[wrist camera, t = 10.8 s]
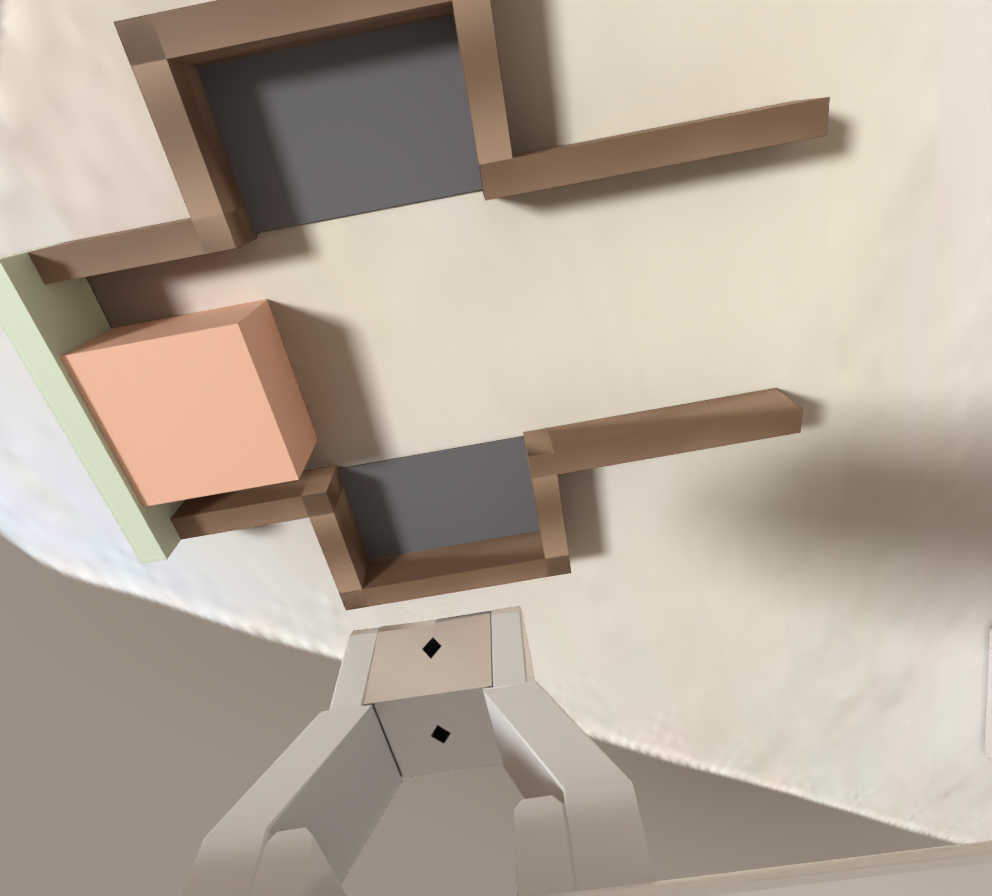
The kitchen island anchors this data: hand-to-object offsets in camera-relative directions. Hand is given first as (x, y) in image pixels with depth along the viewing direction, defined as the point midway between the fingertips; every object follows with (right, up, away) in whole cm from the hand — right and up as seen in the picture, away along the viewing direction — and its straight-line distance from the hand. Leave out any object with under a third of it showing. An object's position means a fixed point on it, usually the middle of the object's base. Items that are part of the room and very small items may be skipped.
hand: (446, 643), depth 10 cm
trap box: (-2, +9, +16) cm, 18 cm away
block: (-12, +6, +17) cm, 22 cm away
